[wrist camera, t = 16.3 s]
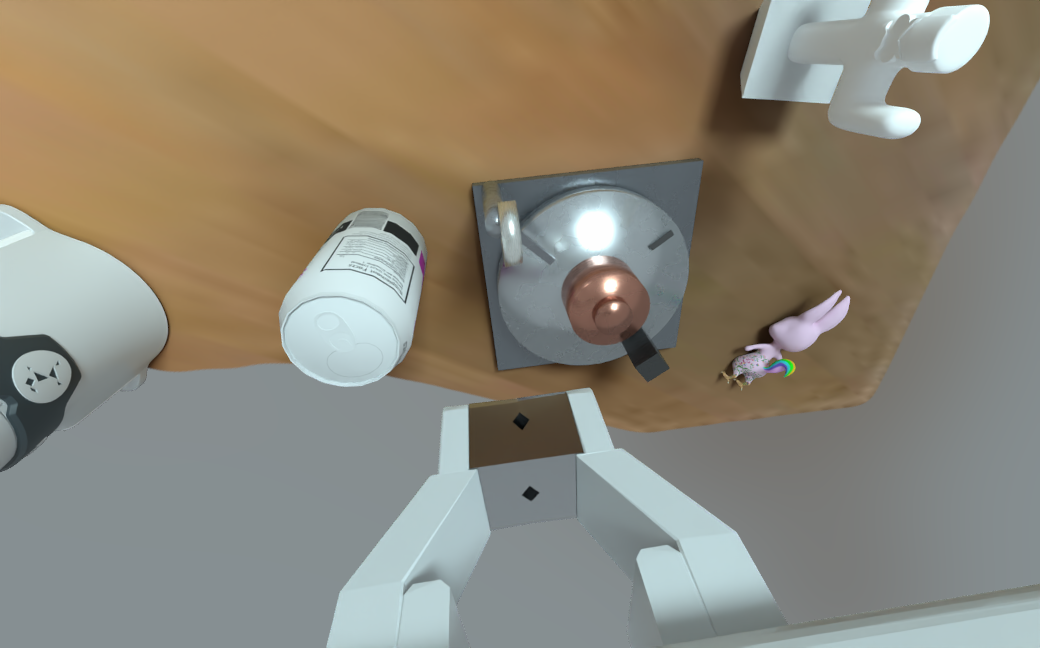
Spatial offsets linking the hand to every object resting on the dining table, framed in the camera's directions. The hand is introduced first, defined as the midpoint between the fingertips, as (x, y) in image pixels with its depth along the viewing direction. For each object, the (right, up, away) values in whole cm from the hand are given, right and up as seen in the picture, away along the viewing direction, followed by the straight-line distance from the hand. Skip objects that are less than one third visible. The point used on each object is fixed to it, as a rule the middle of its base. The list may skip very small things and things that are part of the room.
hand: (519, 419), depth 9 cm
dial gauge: (-1, +12, +28) cm, 31 cm away
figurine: (+20, +24, +25) cm, 40 cm away
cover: (+7, +5, +31) cm, 32 cm away
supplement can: (-13, +9, +30) cm, 34 cm away
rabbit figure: (+29, +1, +41) cm, 50 cm away
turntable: (+7, +6, +32) cm, 34 cm away
